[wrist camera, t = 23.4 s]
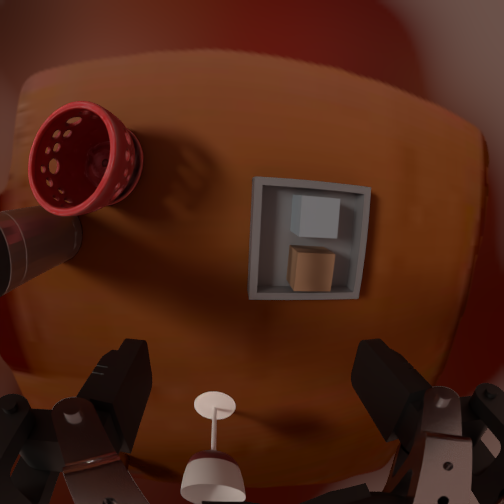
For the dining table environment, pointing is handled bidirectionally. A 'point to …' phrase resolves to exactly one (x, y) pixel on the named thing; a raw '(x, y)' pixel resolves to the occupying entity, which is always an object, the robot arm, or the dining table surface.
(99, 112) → the plant pot
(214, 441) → the wineglass
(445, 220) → the dining table surface
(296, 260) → the walnut block
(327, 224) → the slate block
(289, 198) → the tray
